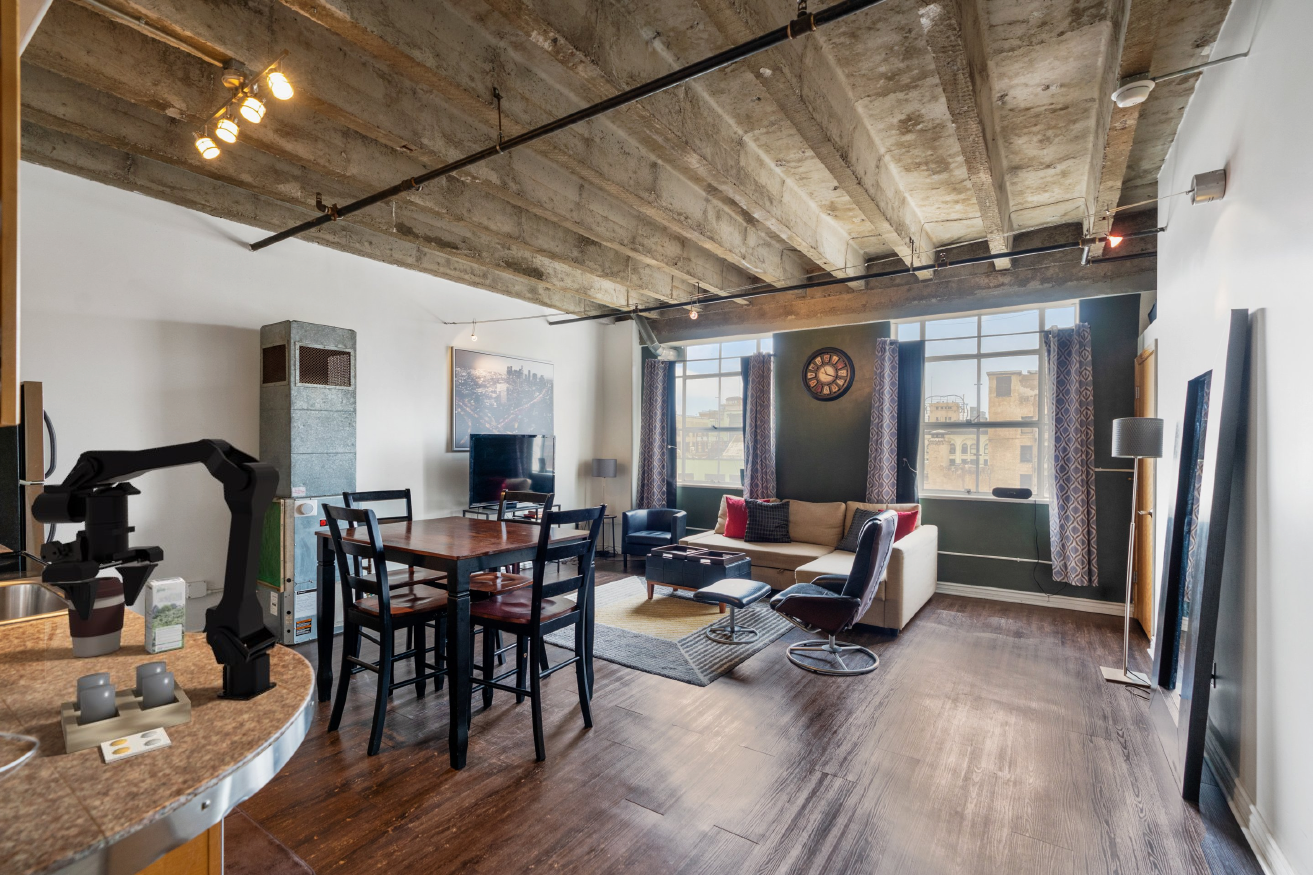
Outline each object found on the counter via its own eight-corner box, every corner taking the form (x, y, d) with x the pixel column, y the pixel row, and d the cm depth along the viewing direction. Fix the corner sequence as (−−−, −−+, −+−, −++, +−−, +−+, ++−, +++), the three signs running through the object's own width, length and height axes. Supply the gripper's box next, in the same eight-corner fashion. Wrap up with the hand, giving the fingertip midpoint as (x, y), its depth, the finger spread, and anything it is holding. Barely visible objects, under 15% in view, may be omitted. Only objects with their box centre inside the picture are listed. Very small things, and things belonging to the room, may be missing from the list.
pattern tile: (162, 729, 94) (162, 725, 94) (171, 745, 89) (171, 741, 89) (100, 745, 89) (100, 742, 89) (105, 763, 84) (105, 759, 84)
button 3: (164, 684, 105) (164, 659, 105) (168, 690, 102) (168, 664, 102) (134, 690, 102) (134, 665, 102) (137, 697, 99) (138, 671, 99)
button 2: (113, 709, 95) (113, 682, 95) (116, 716, 92) (116, 688, 92) (79, 717, 92) (79, 689, 92) (81, 725, 89) (81, 696, 89)
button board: (174, 696, 107) (174, 678, 107) (190, 721, 97) (190, 701, 97) (61, 722, 97) (61, 703, 97) (66, 753, 87) (66, 731, 87)
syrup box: (177, 642, 136) (177, 575, 136) (185, 647, 132) (185, 579, 133) (144, 649, 132) (144, 580, 132) (151, 655, 128) (151, 583, 128)
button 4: (171, 695, 100) (171, 669, 100) (176, 702, 97) (176, 675, 97) (140, 702, 97) (141, 676, 97) (144, 710, 94) (144, 682, 94)
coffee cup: (90, 661, 124) (90, 585, 124) (50, 658, 126) (51, 583, 126) (140, 645, 134) (140, 575, 134) (103, 643, 136) (103, 573, 136)
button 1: (108, 696, 100) (108, 670, 100) (111, 703, 97) (111, 676, 97) (76, 703, 97) (76, 677, 97) (77, 710, 94) (77, 683, 94)
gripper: (103, 517, 118) (105, 600, 117) (4, 531, 99) (6, 630, 99) (165, 515, 118) (166, 598, 118) (78, 529, 99) (79, 628, 99)
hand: (108, 612), depth 108 cm, fingers open, 9 cm apart
